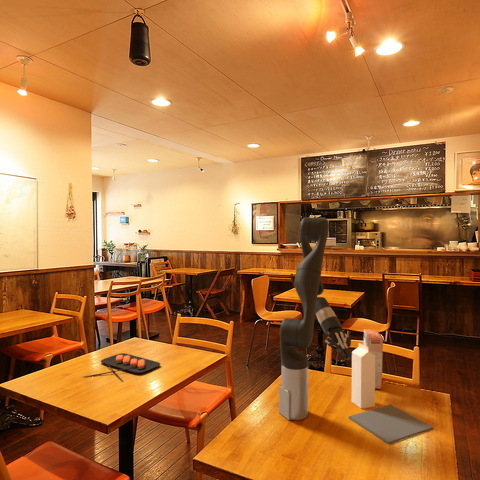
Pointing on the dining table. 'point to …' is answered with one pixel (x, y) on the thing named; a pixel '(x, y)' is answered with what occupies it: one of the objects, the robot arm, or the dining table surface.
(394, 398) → the dining table surface
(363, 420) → the mat
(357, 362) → the milk
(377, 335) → the cracker box
